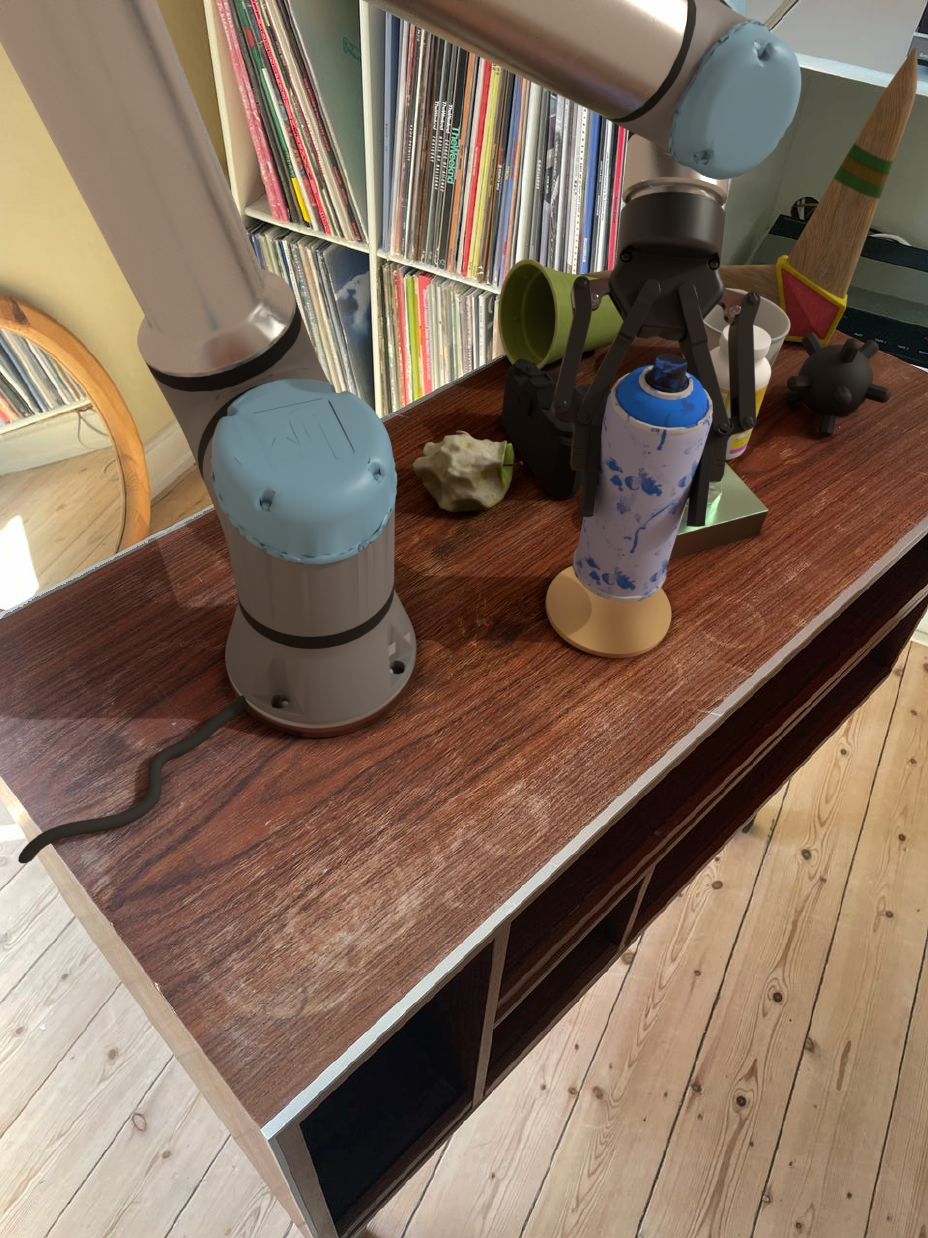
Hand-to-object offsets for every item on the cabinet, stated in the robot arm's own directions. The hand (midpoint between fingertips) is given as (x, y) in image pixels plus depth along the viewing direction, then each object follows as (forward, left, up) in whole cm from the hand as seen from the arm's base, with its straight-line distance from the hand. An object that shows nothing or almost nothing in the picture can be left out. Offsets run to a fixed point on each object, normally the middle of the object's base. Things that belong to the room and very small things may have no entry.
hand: (640, 520), depth 70 cm
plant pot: (+21, +40, -10) cm, 47 cm away
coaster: (+2, +3, -14) cm, 14 cm away
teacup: (+31, +29, -14) cm, 45 cm away
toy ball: (+41, +25, -11) cm, 49 cm away
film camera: (+8, +24, -14) cm, 29 cm away
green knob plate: (+15, +11, -14) cm, 23 cm away
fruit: (-4, +21, -14) cm, 26 cm away
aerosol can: (+2, +3, -9) cm, 9 cm away
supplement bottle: (+24, +20, -14) cm, 34 cm away
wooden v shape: (+33, +30, +12) cm, 46 cm away
